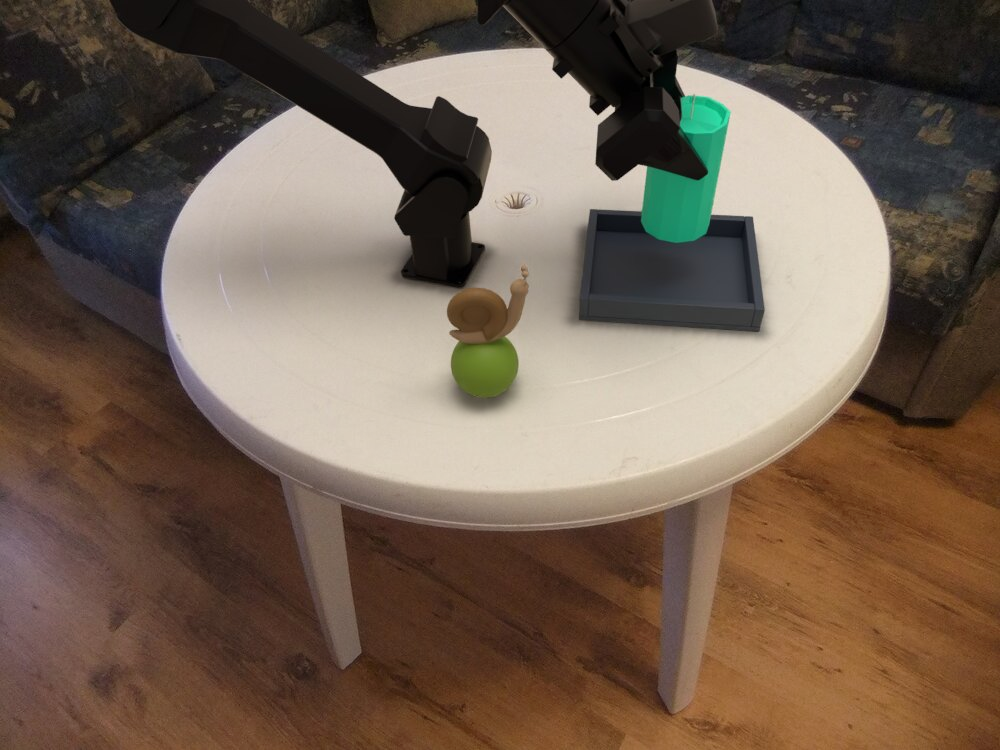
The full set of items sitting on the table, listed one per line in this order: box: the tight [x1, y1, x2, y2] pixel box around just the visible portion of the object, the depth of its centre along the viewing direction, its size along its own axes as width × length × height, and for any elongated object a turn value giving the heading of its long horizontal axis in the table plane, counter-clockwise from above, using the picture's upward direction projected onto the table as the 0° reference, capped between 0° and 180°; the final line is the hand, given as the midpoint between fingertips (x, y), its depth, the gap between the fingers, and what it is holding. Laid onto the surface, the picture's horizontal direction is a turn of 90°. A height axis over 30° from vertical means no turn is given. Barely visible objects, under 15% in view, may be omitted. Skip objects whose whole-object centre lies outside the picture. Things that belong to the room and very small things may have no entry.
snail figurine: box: [446, 264, 530, 398], centre depth 61 cm, size 5×6×12 cm
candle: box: [641, 93, 732, 243], centre depth 66 cm, size 6×6×12 cm
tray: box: [578, 208, 766, 332], centre depth 73 cm, size 16×14×2 cm
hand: (701, 157), depth 66 cm, fingers closed on candle, 5 cm apart
